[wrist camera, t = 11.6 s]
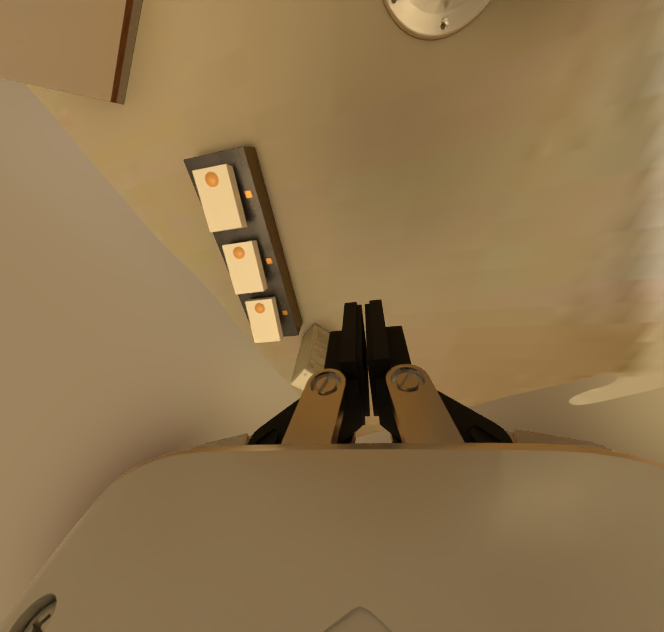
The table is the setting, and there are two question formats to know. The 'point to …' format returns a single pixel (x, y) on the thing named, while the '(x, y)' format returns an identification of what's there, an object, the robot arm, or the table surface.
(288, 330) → the power strip
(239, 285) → the cream flat rectangular block
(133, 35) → the display case
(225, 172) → the rocker
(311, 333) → the skincare box
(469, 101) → the table surface
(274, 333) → the rocker
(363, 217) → the table surface
